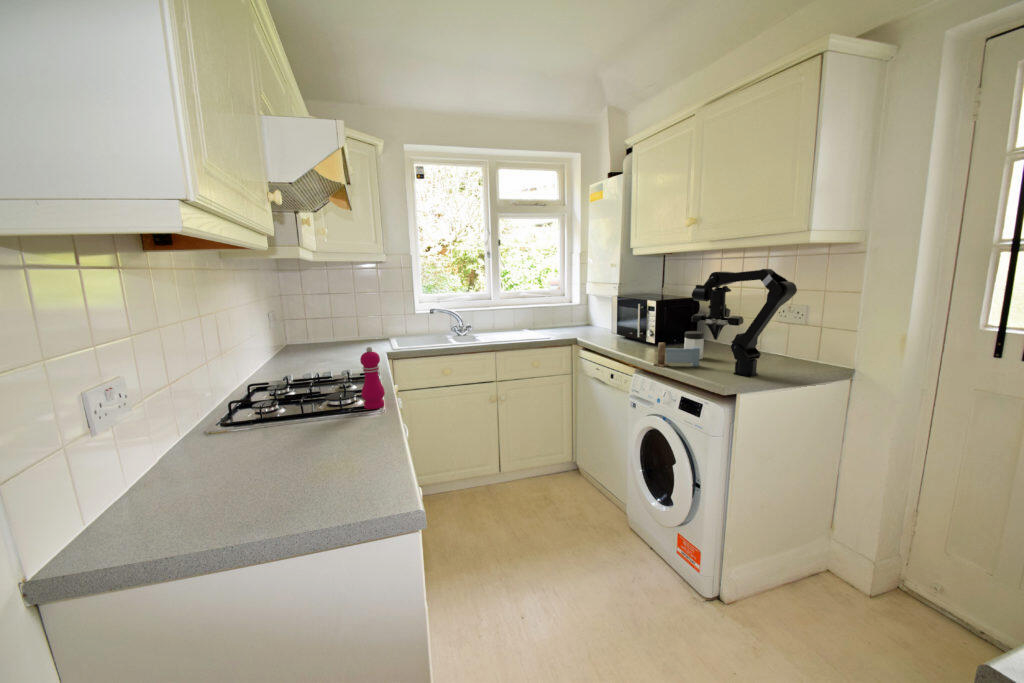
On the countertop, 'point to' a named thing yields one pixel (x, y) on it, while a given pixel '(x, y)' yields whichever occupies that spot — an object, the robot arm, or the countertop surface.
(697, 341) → the jar
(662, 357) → the hinge post
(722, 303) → the robot arm
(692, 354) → the gate
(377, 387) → the pepper mill
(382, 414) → the countertop surface
